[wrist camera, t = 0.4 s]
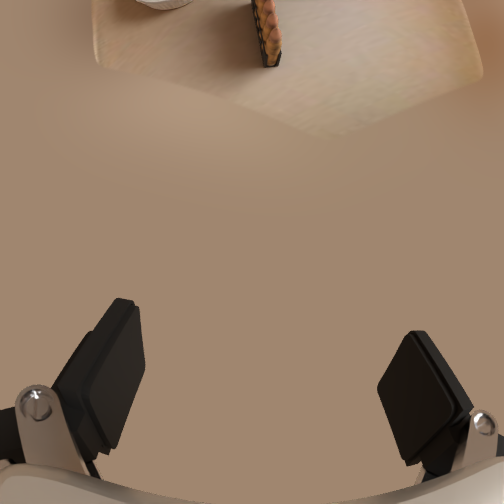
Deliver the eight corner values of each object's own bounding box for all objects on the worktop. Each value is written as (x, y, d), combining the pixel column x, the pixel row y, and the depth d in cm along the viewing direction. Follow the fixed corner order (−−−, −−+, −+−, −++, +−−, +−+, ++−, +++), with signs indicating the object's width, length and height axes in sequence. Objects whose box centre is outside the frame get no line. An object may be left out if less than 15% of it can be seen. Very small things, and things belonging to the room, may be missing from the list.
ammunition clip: (251, 3, 27) (249, -42, 16) (264, 1, 27) (268, -43, 16) (264, 67, 31) (268, 38, 20) (278, 66, 31) (289, 36, 20)
